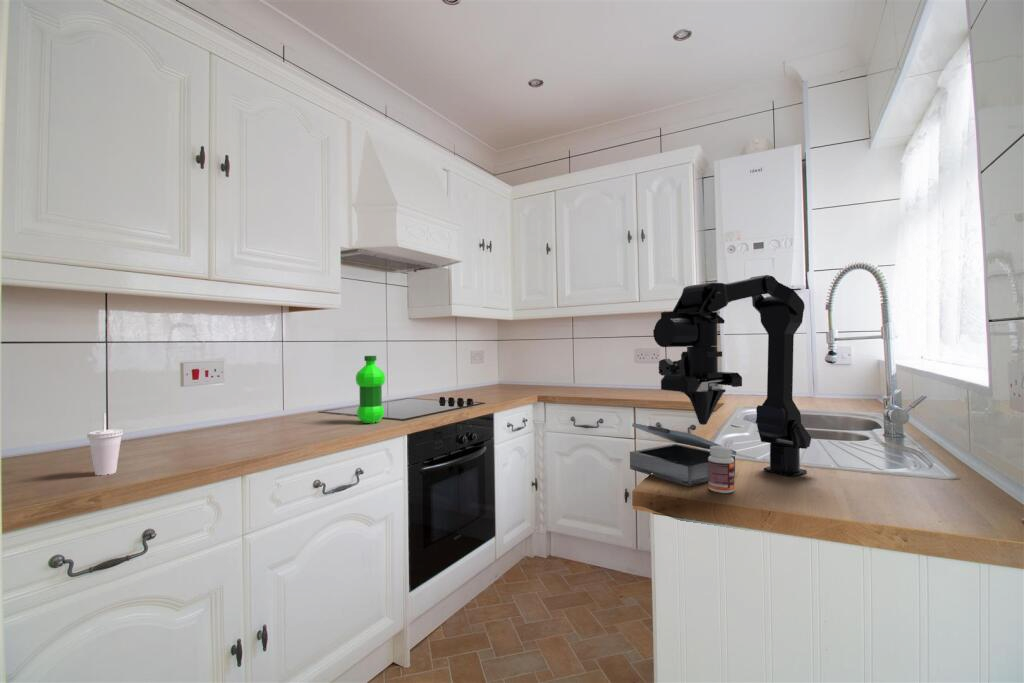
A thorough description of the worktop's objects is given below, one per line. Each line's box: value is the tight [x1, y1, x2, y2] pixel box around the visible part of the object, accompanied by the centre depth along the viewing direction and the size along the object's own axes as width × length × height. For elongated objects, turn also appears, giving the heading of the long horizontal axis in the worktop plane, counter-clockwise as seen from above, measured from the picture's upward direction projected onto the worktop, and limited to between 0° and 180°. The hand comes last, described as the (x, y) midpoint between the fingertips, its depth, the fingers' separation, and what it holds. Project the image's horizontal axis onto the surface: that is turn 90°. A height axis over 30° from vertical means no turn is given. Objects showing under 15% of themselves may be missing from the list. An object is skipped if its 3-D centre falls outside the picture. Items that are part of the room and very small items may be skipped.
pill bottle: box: [707, 445, 735, 494], centre depth 95 cm, size 5×5×8 cm
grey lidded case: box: [629, 443, 736, 487], centre depth 108 cm, size 16×16×4 cm
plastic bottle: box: [355, 355, 386, 424], centre depth 178 cm, size 10×10×25 cm
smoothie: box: [86, 412, 124, 477], centre depth 110 cm, size 6×6×14 cm
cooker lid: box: [631, 422, 737, 456], centre depth 108 cm, size 17×16×1 cm
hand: (702, 424), depth 95 cm, fingers closed
